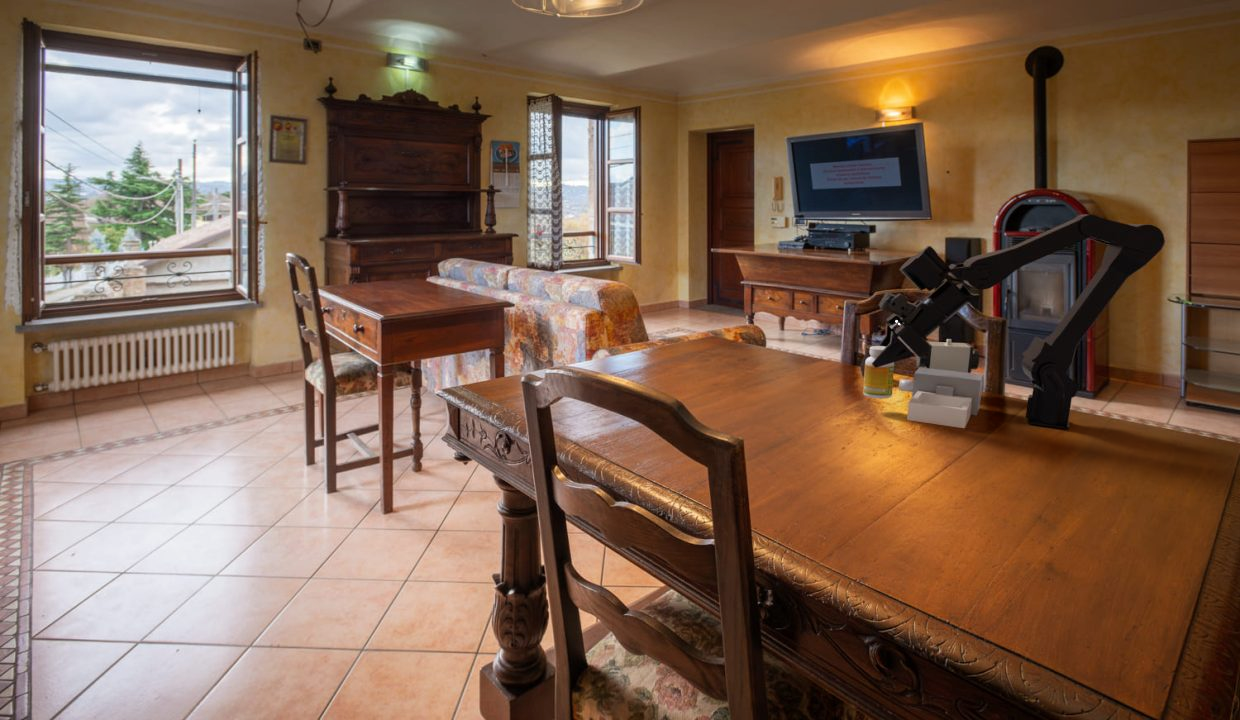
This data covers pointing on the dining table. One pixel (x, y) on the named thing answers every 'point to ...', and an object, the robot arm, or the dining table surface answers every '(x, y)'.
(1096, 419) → the dining table surface
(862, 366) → the mate gourd
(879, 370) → the supplement bottle
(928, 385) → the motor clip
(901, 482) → the dining table surface
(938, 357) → the pneumatic valve
